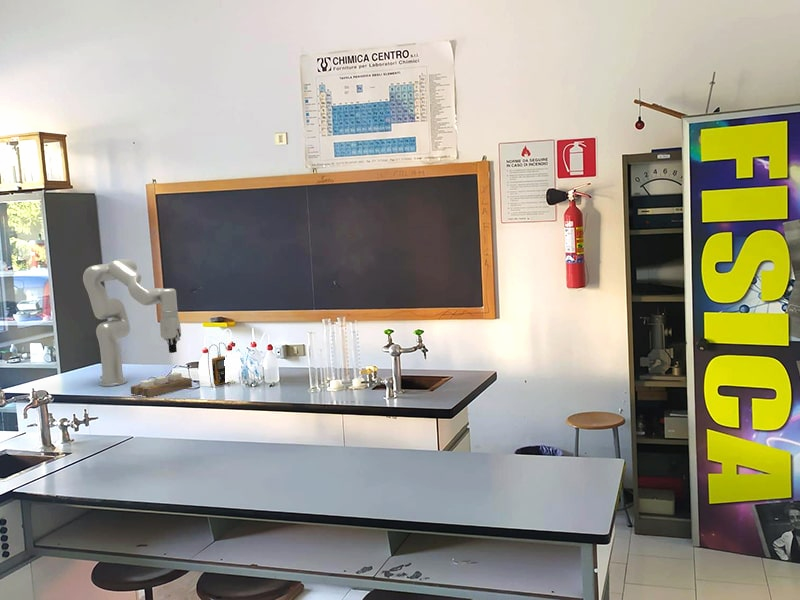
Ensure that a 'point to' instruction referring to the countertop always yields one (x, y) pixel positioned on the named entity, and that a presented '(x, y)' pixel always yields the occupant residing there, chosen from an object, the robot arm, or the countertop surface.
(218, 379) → the multimeter
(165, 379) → the middle button
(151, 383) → the button
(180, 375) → the button
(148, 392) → the button board
